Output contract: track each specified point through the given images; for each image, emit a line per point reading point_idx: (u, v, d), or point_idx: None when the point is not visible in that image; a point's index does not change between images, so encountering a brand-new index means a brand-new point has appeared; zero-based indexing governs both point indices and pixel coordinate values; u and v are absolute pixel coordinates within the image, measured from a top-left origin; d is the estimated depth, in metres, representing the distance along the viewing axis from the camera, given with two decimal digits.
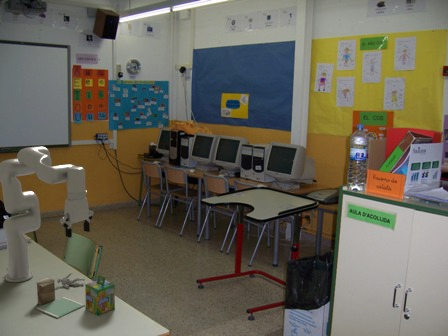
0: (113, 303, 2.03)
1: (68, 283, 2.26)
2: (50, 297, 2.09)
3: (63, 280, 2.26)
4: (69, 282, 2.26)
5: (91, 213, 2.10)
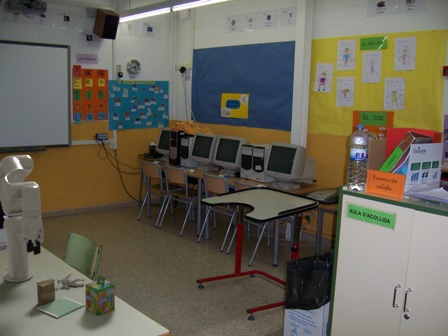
0: (113, 303, 2.03)
1: (68, 284, 2.25)
2: (50, 297, 2.09)
3: (63, 281, 2.25)
4: (69, 283, 2.26)
5: None
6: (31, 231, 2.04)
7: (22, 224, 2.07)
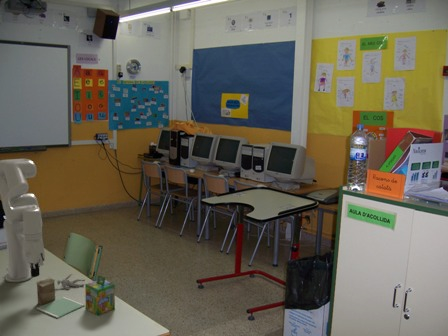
0: (113, 303, 2.03)
1: (68, 284, 2.25)
2: (50, 297, 2.09)
3: (63, 281, 2.24)
4: (69, 283, 2.25)
5: None
6: (32, 254, 2.06)
7: (23, 247, 2.09)
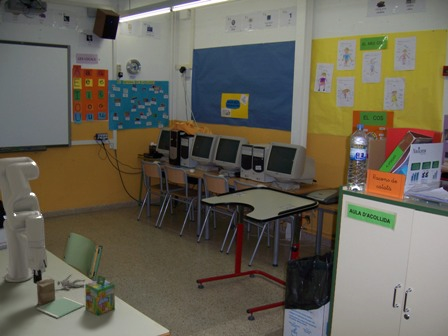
0: (113, 303, 2.03)
1: (68, 285, 2.24)
2: (50, 297, 2.09)
3: (63, 282, 2.24)
4: (69, 284, 2.24)
5: None
6: (35, 261, 2.05)
7: (26, 254, 2.09)
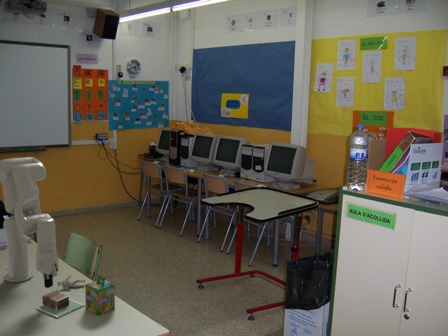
0: (113, 303, 2.03)
1: (69, 285, 2.23)
2: None
3: (63, 283, 2.23)
4: (70, 284, 2.24)
5: None
6: (46, 265, 2.01)
7: (37, 258, 2.04)
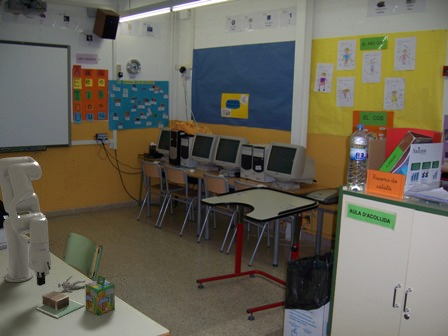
0: (113, 303, 2.03)
1: (70, 287, 2.22)
2: None
3: (64, 284, 2.21)
4: (70, 285, 2.22)
5: None
6: (39, 264, 2.04)
7: (30, 256, 2.07)
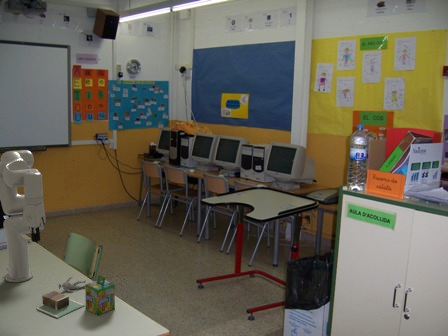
0: (113, 303, 2.03)
1: (70, 287, 2.22)
2: None
3: (65, 285, 2.21)
4: (71, 286, 2.22)
5: None
6: (33, 218, 2.02)
7: (24, 211, 2.05)
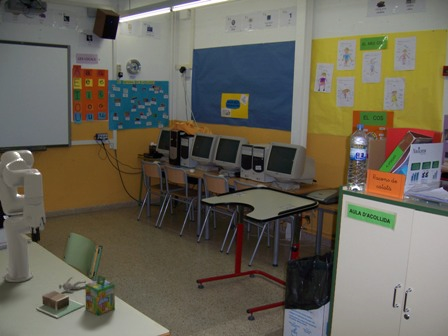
0: (113, 303, 2.03)
1: (70, 287, 2.21)
2: None
3: (65, 285, 2.20)
4: (71, 286, 2.22)
5: None
6: (33, 218, 2.02)
7: (24, 211, 2.05)
